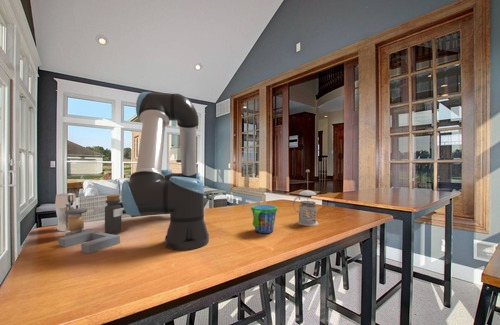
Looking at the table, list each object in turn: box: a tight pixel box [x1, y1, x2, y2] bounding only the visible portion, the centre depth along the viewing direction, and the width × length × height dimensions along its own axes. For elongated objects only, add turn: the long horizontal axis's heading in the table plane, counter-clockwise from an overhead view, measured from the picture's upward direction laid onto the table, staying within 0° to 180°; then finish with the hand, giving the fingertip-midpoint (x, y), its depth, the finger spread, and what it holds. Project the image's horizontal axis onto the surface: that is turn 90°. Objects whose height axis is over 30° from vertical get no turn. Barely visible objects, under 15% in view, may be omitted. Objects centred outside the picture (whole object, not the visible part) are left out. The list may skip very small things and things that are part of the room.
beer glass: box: [54, 192, 77, 232], centre depth 99 cm, size 7×7×15 cm
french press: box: [292, 169, 319, 227], centre depth 109 cm, size 10×12×25 cm
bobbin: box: [64, 207, 88, 237], centre depth 91 cm, size 7×7×10 cm
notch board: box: [58, 229, 121, 255], centre depth 82 cm, size 17×10×2 cm, turn 65°
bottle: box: [104, 194, 122, 235], centre depth 96 cm, size 6×6×15 cm
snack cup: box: [250, 204, 278, 234], centre depth 96 cm, size 16×10×10 cm
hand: (103, 211), depth 92 cm, fingers open, 11 cm apart
